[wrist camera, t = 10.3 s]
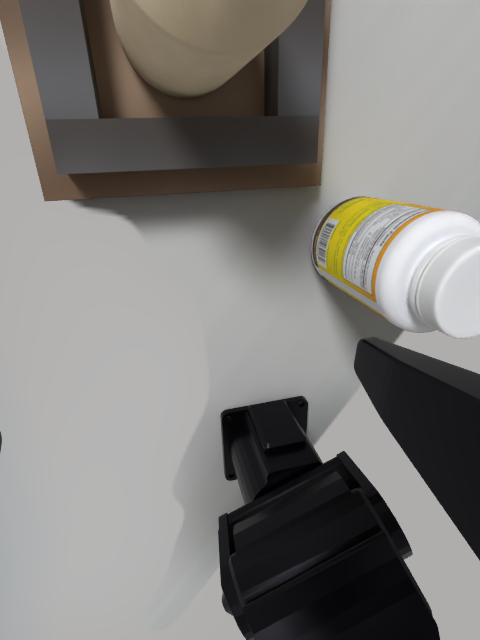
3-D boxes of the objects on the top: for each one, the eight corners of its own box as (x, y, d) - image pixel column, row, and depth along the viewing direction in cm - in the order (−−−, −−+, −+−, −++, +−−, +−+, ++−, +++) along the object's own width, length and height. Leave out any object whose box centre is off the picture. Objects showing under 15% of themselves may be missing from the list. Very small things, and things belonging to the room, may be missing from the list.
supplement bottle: (396, 255, 24) (548, 313, 15) (325, 298, 24) (434, 381, 15) (372, 176, 22) (537, 190, 13) (293, 224, 22) (401, 272, 13)
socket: (311, 183, 21) (338, 188, 18) (50, 198, 18) (33, 206, 15) (328, -174, 15) (370, -249, 12) (-53, -235, 12) (-111, -351, 10)
